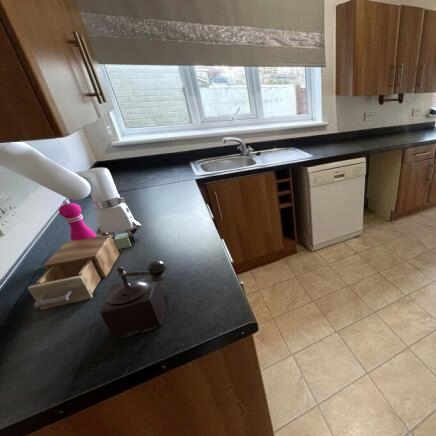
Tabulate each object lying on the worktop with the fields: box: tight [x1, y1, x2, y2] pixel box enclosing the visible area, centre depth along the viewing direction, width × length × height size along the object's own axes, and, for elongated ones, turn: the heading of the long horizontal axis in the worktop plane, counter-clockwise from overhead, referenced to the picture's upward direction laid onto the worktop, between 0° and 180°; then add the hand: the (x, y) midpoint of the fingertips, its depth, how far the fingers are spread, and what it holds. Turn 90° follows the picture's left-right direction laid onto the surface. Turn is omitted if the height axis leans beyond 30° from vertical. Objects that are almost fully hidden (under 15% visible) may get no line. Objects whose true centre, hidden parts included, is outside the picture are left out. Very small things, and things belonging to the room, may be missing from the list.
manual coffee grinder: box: [99, 260, 167, 341], centre depth 67 cm, size 16×11×18 cm
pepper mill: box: [58, 199, 97, 241], centre depth 101 cm, size 7×7×20 cm
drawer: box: [27, 258, 103, 310], centre depth 77 cm, size 18×11×8 cm, turn 21°
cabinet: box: [43, 234, 120, 279], centre depth 88 cm, size 15×13×10 cm
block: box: [114, 232, 133, 250], centre depth 104 cm, size 4×4×4 cm
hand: (126, 245), depth 105 cm, fingers closed on block, 4 cm apart
